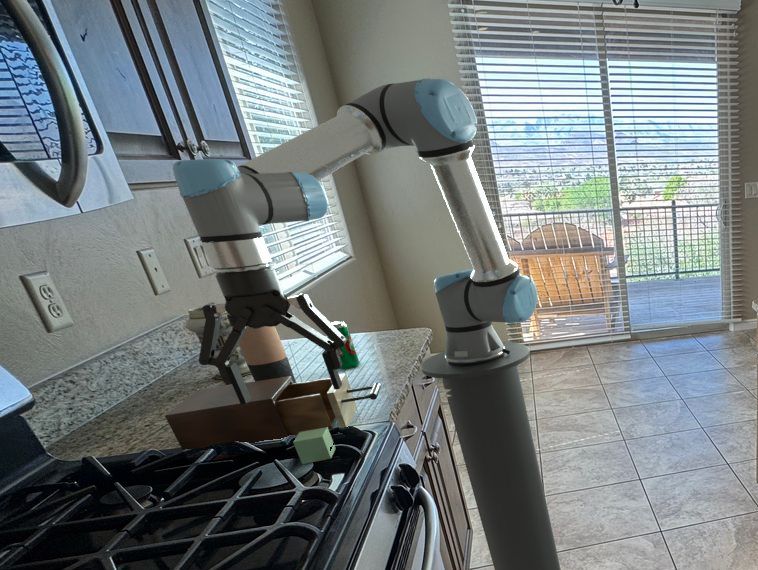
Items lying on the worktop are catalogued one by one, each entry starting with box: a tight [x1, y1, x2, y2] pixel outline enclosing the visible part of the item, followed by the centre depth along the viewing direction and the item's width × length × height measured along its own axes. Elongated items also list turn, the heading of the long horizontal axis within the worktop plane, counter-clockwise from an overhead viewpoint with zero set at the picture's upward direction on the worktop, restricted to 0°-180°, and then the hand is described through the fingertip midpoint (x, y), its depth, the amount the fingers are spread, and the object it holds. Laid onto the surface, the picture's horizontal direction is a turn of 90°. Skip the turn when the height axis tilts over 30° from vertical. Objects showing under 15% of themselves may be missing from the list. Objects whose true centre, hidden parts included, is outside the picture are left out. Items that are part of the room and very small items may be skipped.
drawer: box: [275, 372, 382, 435], centre depth 113 cm, size 21×13×8 cm, turn 113°
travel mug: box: [227, 313, 297, 383], centre depth 130 cm, size 8×8×20 cm
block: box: [293, 427, 336, 465], centre depth 102 cm, size 4×4×4 cm
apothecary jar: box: [185, 305, 252, 380], centre depth 148 cm, size 12×12×18 cm
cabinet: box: [164, 376, 293, 461], centre depth 109 cm, size 16×14×10 cm
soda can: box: [326, 320, 361, 370], centre depth 149 cm, size 5×5×12 cm
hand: (293, 394), depth 97 cm, fingers open, 13 cm apart
